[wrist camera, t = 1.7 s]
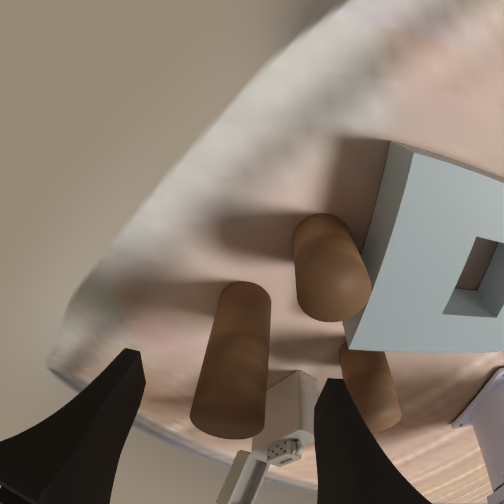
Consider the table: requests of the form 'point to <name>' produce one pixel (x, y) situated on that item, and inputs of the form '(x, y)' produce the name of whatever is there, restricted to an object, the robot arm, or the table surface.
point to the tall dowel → (235, 365)
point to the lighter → (274, 438)
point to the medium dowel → (371, 387)
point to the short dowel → (329, 270)
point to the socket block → (431, 258)
